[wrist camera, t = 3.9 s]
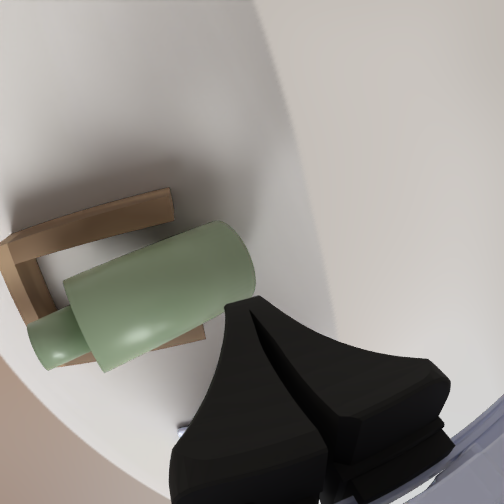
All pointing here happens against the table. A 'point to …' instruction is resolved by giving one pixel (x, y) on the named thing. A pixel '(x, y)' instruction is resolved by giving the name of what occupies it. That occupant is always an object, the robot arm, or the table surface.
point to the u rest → (73, 234)
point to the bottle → (146, 298)
